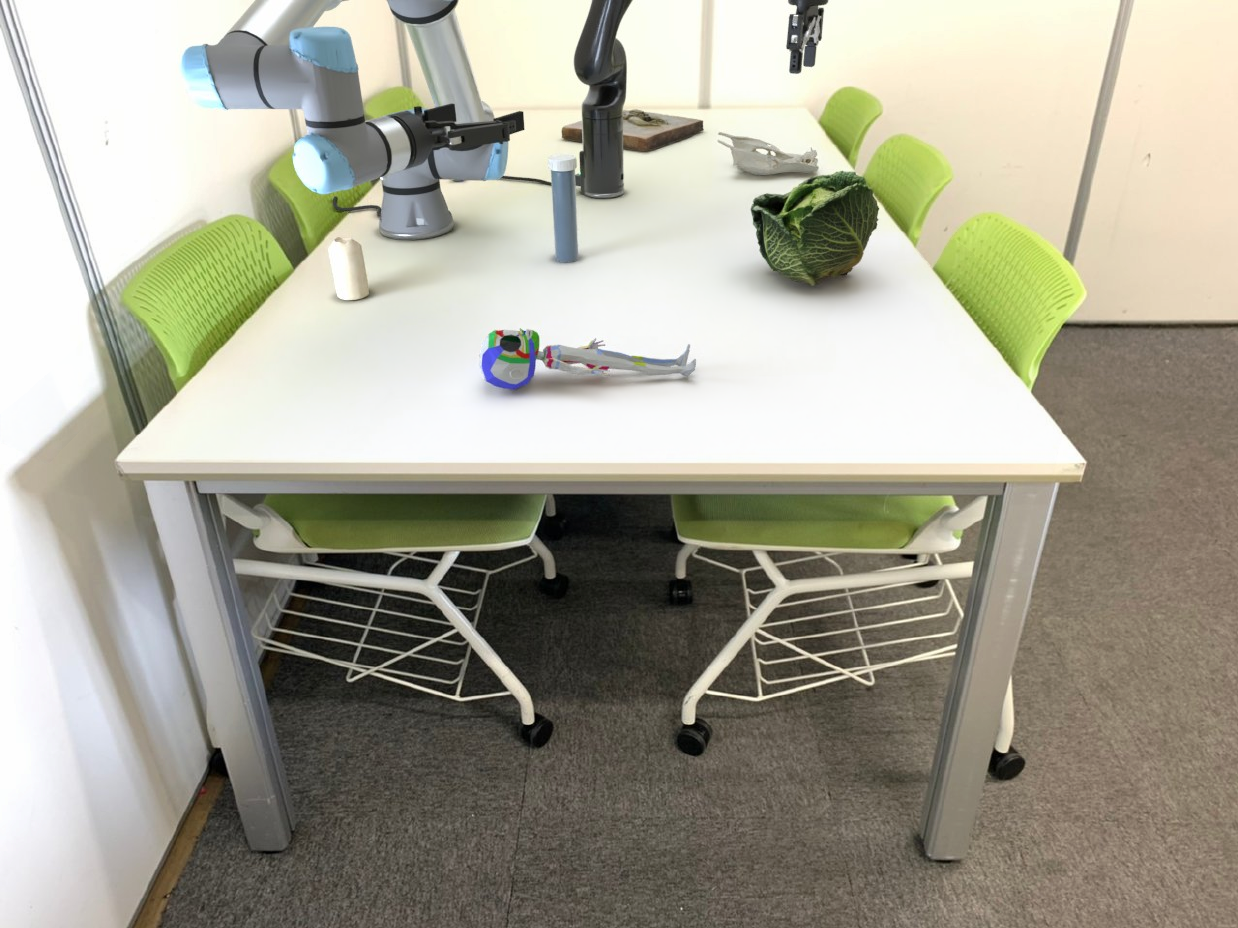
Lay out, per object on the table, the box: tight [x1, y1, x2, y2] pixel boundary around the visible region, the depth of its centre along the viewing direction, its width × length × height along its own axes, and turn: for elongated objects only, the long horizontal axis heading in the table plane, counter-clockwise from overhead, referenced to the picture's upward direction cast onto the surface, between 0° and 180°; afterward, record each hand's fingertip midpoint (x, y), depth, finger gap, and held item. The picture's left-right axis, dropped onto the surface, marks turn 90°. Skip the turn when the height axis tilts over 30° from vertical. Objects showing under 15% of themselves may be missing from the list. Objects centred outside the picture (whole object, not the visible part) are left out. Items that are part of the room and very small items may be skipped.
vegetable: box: [749, 170, 880, 287], centre depth 157 cm, size 20×19×20 cm
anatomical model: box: [716, 131, 820, 176], centre depth 220 cm, size 15×9×25 cm
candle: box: [327, 236, 370, 301], centre depth 154 cm, size 6×6×10 cm
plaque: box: [561, 108, 705, 152], centre depth 257 cm, size 30×7×30 cm
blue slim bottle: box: [550, 169, 579, 263], centre depth 167 cm, size 4×4×18 cm
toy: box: [478, 328, 697, 391], centre depth 127 cm, size 10×8×30 cm
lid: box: [547, 153, 578, 172], centre depth 162 cm, size 5×5×2 cm
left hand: (487, 116), depth 141 cm, fingers open, 13 cm apart
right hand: (802, 70), depth 176 cm, fingers open, 8 cm apart
